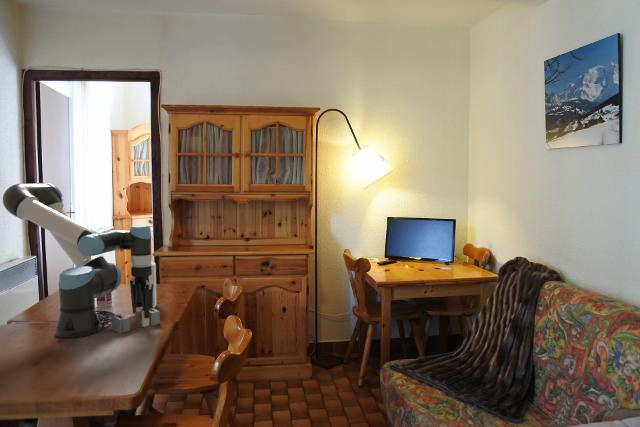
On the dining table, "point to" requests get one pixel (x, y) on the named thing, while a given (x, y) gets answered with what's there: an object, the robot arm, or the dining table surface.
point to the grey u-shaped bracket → (119, 323)
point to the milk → (153, 282)
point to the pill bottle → (104, 300)
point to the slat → (135, 319)
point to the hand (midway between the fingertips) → (142, 324)
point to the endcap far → (154, 317)
